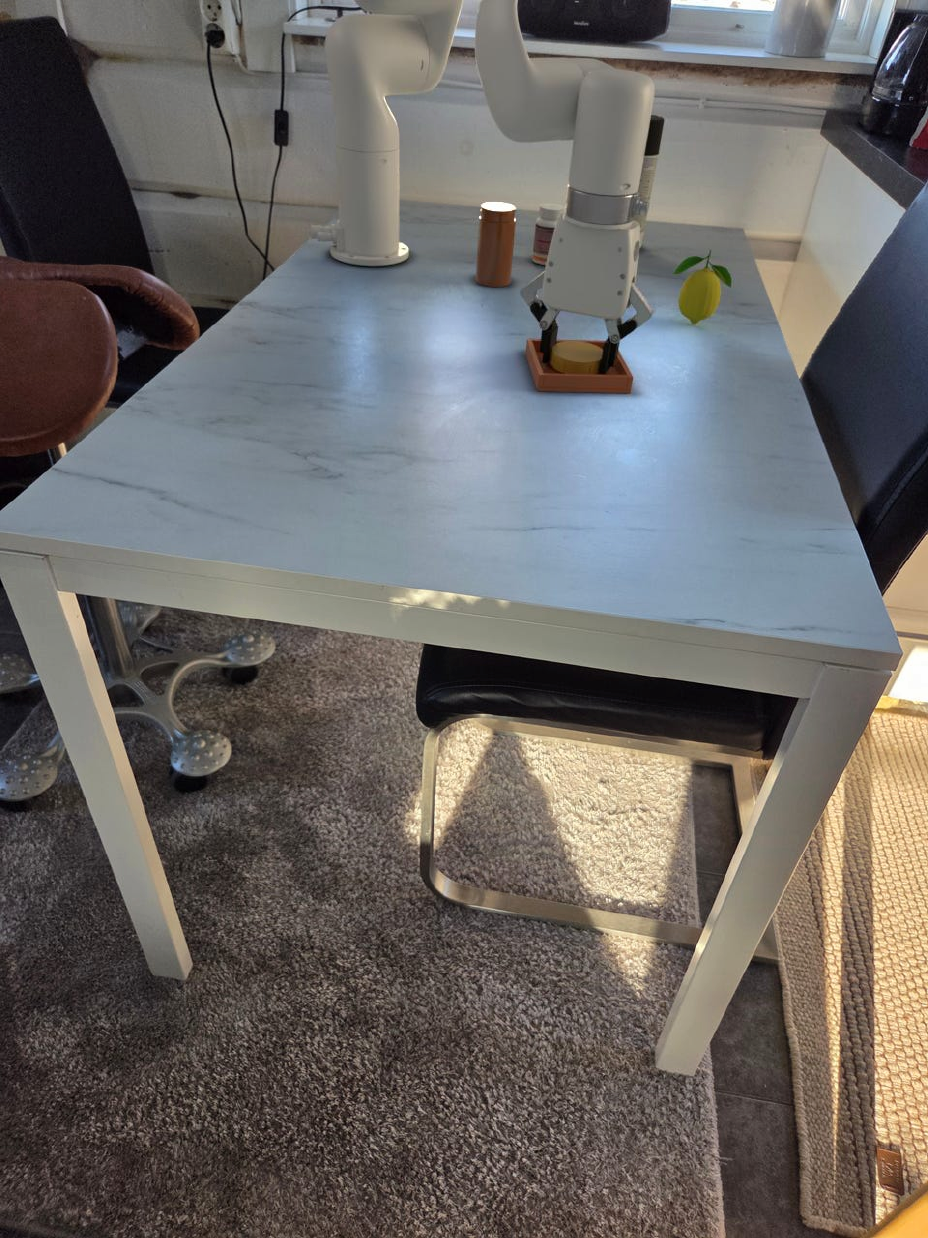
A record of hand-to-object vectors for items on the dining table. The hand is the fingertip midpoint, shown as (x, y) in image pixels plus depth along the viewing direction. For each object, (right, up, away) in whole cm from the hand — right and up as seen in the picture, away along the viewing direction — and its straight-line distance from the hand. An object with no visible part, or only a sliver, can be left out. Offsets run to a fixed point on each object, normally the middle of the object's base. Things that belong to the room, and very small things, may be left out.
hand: (576, 363), depth 101 cm
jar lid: (0, +1, -1) cm, 1 cm away
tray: (0, -1, +1) cm, 1 cm away
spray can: (+14, +34, +45) cm, 58 cm away
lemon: (+19, +10, +16) cm, 27 cm away
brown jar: (-9, +21, +26) cm, 35 cm away
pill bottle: (0, +28, +36) cm, 45 cm away
